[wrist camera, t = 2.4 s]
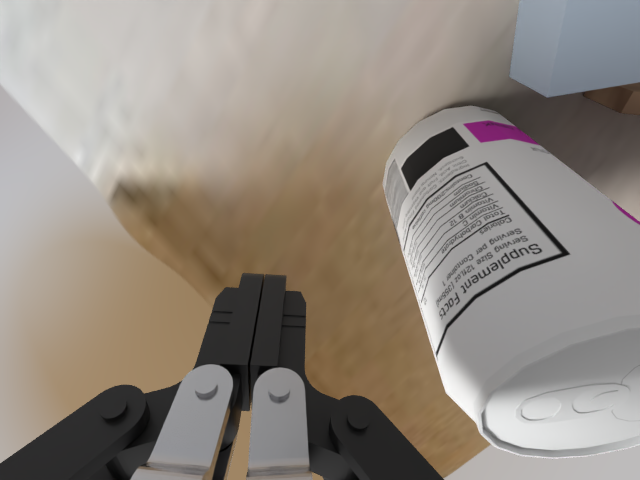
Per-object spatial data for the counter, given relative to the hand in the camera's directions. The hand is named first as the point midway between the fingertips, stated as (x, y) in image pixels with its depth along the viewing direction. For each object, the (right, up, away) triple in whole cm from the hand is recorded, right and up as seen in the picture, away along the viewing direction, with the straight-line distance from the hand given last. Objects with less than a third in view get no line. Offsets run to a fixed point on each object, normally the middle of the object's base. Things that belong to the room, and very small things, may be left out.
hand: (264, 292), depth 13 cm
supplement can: (+10, +6, +10) cm, 15 cm away
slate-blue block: (+14, +12, +5) cm, 19 cm away
